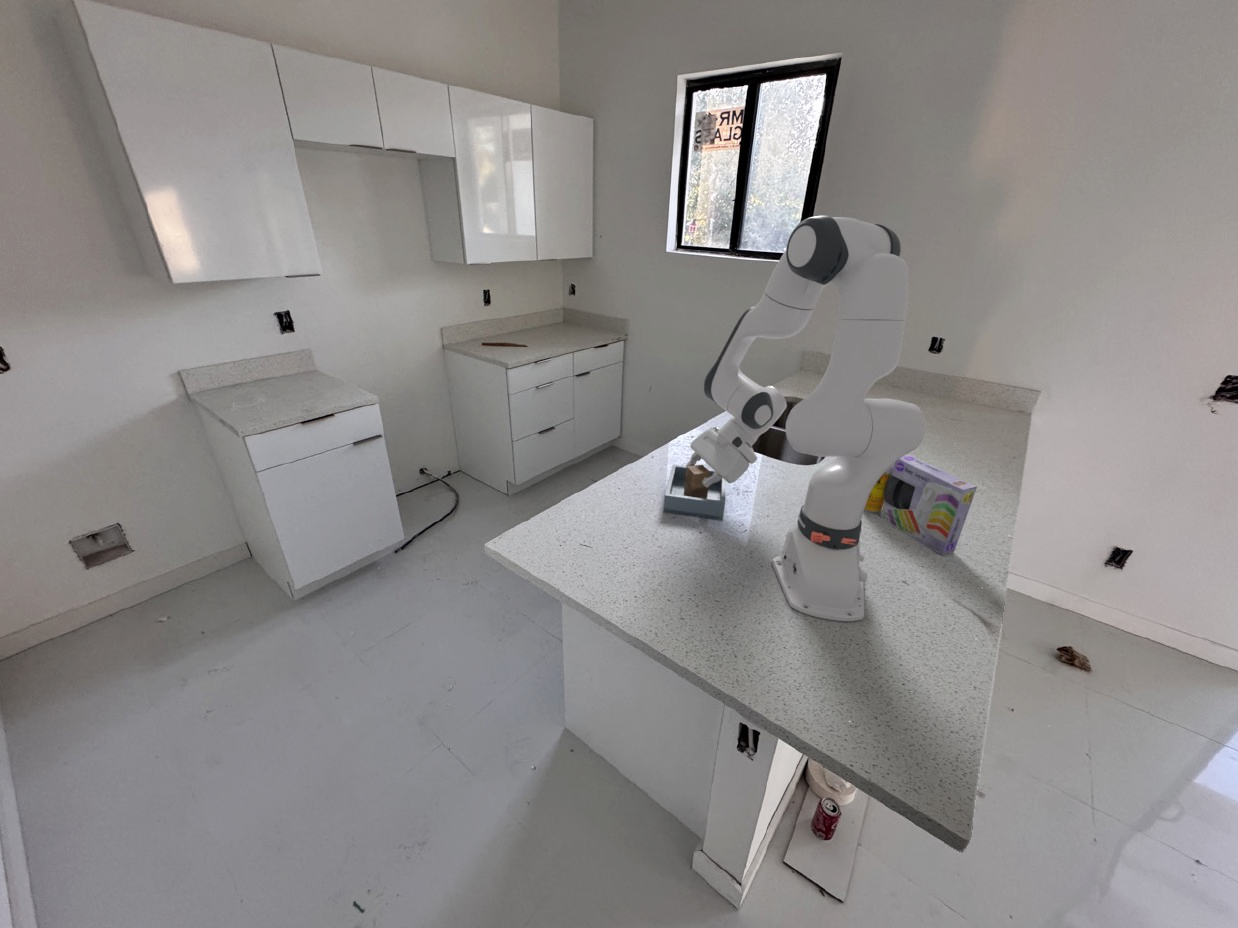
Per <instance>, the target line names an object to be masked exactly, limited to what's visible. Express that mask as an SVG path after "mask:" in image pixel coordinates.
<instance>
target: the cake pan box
mask: <svg viewBox="0 0 1238 928" xmlns="http://www.w3.org/2000/svg"><path fill="white" fill-rule="evenodd" d="M977 489H978V486H977V485H975V484H972V483H969V482H967V481H965V480H963V479H962V478H959V477H957V476H955V475H952V474H951V473H950V472H948V471H946V470H944V469H942V468H940V467H938V466H936V465H933V464H929V463H927V462H926V461H923V460H922V459H919V458H918V457H915V456H913V455H912V454H906V455H904V456H903V457H901V458H900V459H899V460H897V461H896V462H895V464H894V468H893V471H892V475H891V476H890V477H889V479H888V480H887V482H886V485H885V489H884V499H885V501H884V504H883V507H882V509H881V511H880V512H881V513H880V516H879V517H880V518H881V519H883V520H885V521H887V522H888V523H889V524H891V525H893V526H894V527H896V528H897V529H898V530H901V531H903V532H904V533H905V534H907V535H909V536H910V537H912V538H913V539H916V540H917V541H918V542H920V543H922V544H923V545H924V546H927V547H929V548H930V549H931V550H933V551H935V553H938V554H940V555H946V554H952V553H954V552H955V551H956V547H957V546H958V542H959V540H960V537H961V534H962V530H963V528H964V525H965V522H966V520H967V516H968V514H969V510H970V508H971V505H972V502H973V499H974V497H975V494H976V491H977Z"/></svg>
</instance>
